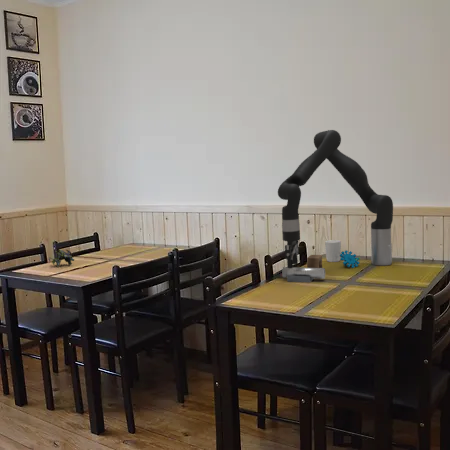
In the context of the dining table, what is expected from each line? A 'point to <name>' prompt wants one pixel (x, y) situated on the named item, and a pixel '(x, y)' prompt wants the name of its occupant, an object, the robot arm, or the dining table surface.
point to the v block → (299, 278)
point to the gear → (349, 259)
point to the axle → (304, 272)
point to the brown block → (314, 261)
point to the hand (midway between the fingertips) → (292, 266)
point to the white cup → (333, 250)
